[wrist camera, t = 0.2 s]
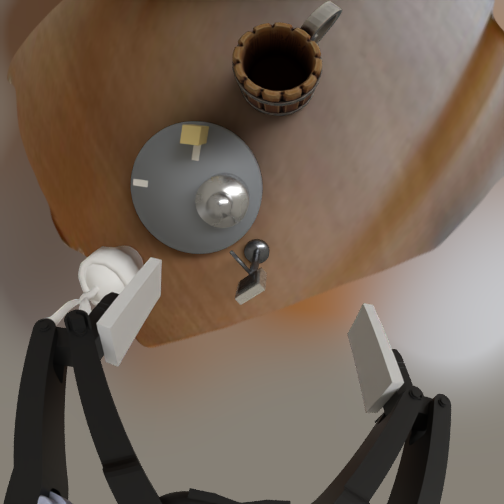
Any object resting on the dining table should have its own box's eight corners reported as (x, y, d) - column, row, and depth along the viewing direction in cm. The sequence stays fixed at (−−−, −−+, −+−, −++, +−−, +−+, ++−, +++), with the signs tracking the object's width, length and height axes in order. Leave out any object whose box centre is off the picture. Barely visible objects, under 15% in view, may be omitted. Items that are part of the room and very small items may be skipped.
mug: (283, 130, 36) (286, 132, 23) (225, 88, 34) (196, 69, 21) (349, 59, 30) (385, 29, 17) (292, 17, 28) (298, -31, 14)
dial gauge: (274, 252, 45) (272, 297, 34) (255, 265, 46) (247, 311, 35) (248, 221, 43) (236, 258, 32) (229, 236, 44) (212, 276, 33)
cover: (204, 168, 36) (194, 175, 32) (254, 177, 36) (251, 185, 32) (198, 215, 39) (188, 227, 35) (245, 224, 39) (241, 238, 35)
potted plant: (96, 256, 49) (19, 334, 27) (123, 219, 45) (29, 299, 23) (139, 298, 53) (80, 391, 30) (172, 268, 48) (107, 373, 26)
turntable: (142, 116, 35) (122, 117, 30) (275, 133, 35) (274, 134, 30) (135, 235, 44) (118, 250, 39) (248, 259, 44) (244, 279, 39)
